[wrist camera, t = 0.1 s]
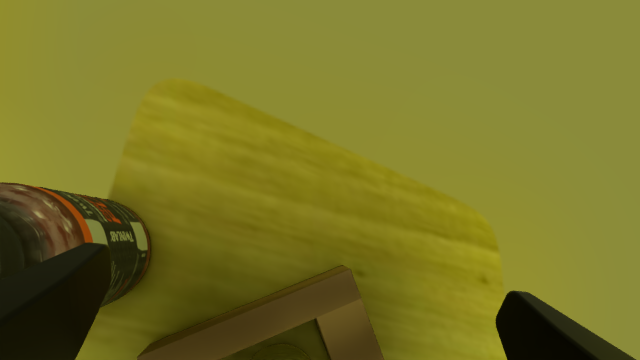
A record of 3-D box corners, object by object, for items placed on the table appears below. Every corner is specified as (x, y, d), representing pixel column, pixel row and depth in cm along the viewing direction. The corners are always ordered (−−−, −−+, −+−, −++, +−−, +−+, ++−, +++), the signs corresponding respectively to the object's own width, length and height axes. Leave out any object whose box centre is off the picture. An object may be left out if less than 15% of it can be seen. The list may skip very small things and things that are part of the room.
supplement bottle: (162, 206, 22) (60, 184, 11) (143, 309, 21) (10, 398, 10) (55, 192, 21) (-172, 154, 10) (31, 298, 20) (-246, 382, 9)
